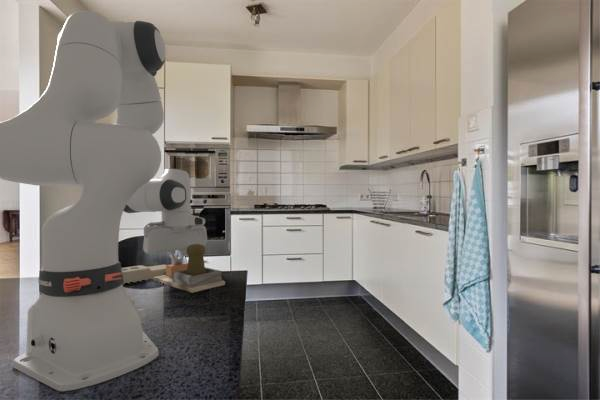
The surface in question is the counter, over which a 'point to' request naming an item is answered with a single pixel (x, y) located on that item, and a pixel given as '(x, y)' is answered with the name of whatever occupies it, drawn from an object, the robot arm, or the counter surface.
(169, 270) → the block
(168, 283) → the rail panel
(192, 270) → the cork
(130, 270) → the electrical outlet
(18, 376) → the counter surface
